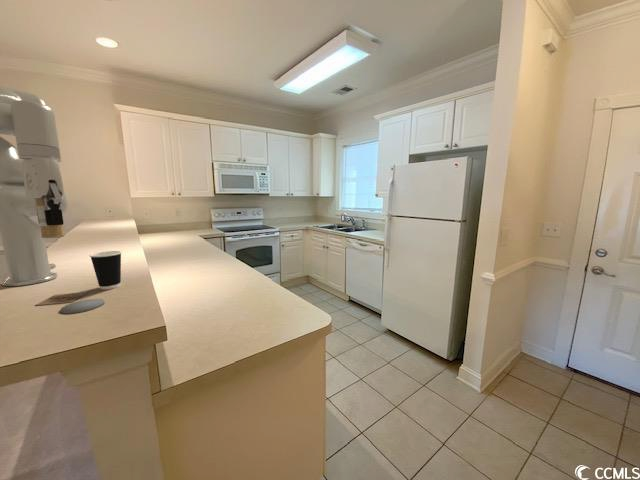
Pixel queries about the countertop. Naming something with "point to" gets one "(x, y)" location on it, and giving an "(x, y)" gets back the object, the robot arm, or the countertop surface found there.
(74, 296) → the tile
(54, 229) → the sprinkles bottle
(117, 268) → the dixie cup
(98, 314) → the countertop surface
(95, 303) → the coaster
